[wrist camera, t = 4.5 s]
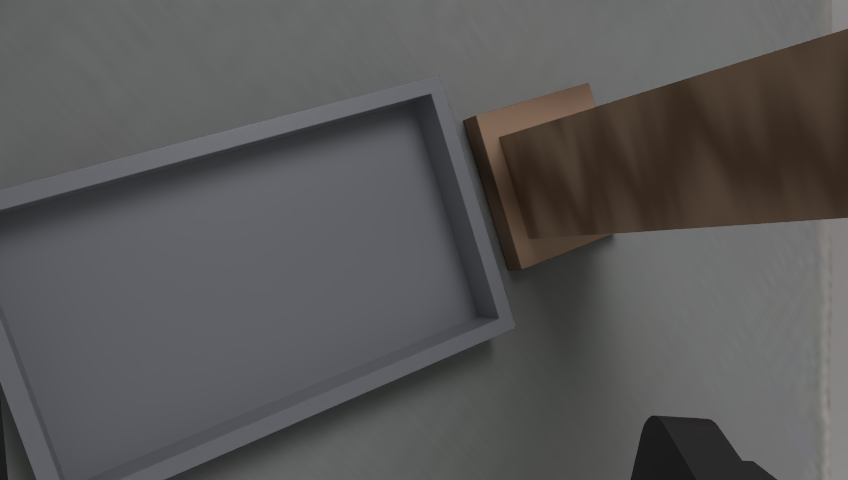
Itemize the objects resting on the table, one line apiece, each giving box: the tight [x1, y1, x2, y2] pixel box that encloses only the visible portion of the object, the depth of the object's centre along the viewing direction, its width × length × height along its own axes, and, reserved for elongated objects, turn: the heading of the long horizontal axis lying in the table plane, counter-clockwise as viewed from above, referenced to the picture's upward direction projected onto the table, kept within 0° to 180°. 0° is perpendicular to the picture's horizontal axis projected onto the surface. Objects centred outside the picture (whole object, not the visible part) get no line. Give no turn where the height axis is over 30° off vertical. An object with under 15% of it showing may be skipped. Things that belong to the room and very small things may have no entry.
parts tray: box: [0, 75, 516, 480], centre depth 38 cm, size 14×24×3 cm, turn 109°
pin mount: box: [464, 29, 848, 270], centre depth 31 cm, size 10×12×32 cm
